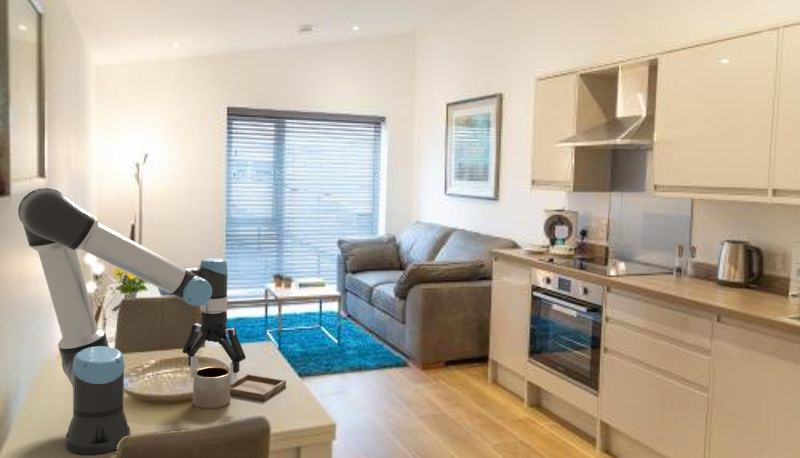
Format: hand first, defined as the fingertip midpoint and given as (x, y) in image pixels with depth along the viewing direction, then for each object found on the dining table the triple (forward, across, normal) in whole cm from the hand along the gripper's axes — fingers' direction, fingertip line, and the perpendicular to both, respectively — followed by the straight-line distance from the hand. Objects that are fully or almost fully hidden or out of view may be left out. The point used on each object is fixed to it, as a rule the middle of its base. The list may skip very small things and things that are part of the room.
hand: (213, 379), depth 197 cm
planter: (+7, 0, 0) cm, 7 cm away
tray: (+7, -6, -14) cm, 17 cm away
